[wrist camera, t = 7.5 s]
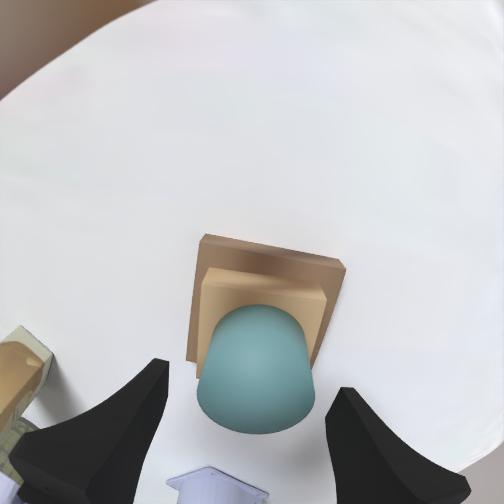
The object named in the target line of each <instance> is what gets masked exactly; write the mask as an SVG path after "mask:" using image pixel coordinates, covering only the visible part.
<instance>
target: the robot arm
mask: <svg viewBox="0 0 504 504" xmlns="http://www.w3.org/2000/svg"><path fill="white" fill-rule="evenodd" d="M168 385H169V361H165V360H161V359H157V358H154V359H153V360H152V361H151V362H150V363H149V364H148V365H147V366H146V367H145V368H144V369H143V370H142V371H141V372H140V373H138V374H137V375H136V376H135V377H134V378H133V379H132V380H131V381H129V382H128V383H127V384H126V385H125V386H124V387H122V388H121V389H120V390H119V391H117V392H116V393H115V394H113V395H112V396H111V397H109V398H108V399H106V400H105V401H103V402H102V403H100V404H99V405H97V406H95V407H94V408H92V409H90V410H88V411H86V412H84V413H82V414H80V415H79V416H76V417H74V418H72V419H70V420H67V421H64V422H62V423H59V424H56V425H54V426H51V427H47V428H43V429H39V430H35V431H31V432H26V433H24V434H23V435H22V437H21V438H20V439H19V440H18V442H17V443H16V445H15V446H14V448H13V449H12V451H11V452H10V454H9V455H8V458H9V462H10V463H11V465H12V466H13V468H14V469H15V470H16V472H17V473H18V474H19V475H20V477H21V478H22V479H23V480H24V482H23V484H22V485H21V486H20V485H19V484H18V483H17V482H16V481H14V480H13V479H11V478H10V477H8V476H7V475H5V474H4V473H3V472H1V471H0V504H133V502H134V497H135V493H136V489H137V485H138V481H139V477H140V473H141V470H142V466H143V462H144V460H145V457H146V454H147V452H148V449H149V447H150V444H151V442H152V440H153V437H154V435H155V432H156V430H157V428H158V425H159V423H160V420H161V418H162V416H163V412H164V409H165V405H166V402H167V398H168ZM325 424H326V438H327V443H328V448H329V452H330V457H331V462H332V466H333V471H334V476H335V482H336V494H337V504H460V503H461V502H463V501H464V500H465V499H466V498H467V497H468V496H469V495H470V493H471V488H470V486H469V484H468V482H467V480H466V478H465V476H462V475H459V474H457V473H454V472H452V471H449V470H447V469H445V468H443V467H441V466H439V465H437V464H435V463H433V462H432V461H430V460H428V459H427V458H425V457H424V456H422V455H421V454H419V453H418V452H416V451H415V450H414V449H412V448H411V447H410V446H408V445H407V444H406V443H405V442H404V441H402V440H401V439H400V438H399V437H398V436H397V435H396V434H395V433H394V432H393V431H392V430H391V429H390V428H389V427H388V426H387V425H386V424H385V423H384V422H383V421H382V420H381V419H380V418H379V417H378V416H377V414H376V413H375V412H374V411H373V410H372V409H371V407H370V406H369V405H368V404H367V403H366V402H365V400H364V399H363V398H362V397H361V396H360V394H359V393H358V392H357V391H356V390H355V389H354V388H349V387H341V388H340V390H339V392H338V394H337V396H336V398H335V400H334V402H333V404H332V406H331V407H330V409H329V411H328V413H327V415H326V417H325ZM166 484H167V485H169V486H170V487H172V488H174V489H176V490H178V491H179V496H178V500H177V504H263V499H265V498H268V494H267V493H265V492H262V491H260V490H258V489H255V488H253V487H251V486H249V485H246V484H244V483H242V482H240V481H238V480H236V479H233V478H231V477H229V476H227V475H225V474H223V473H221V472H219V471H217V470H215V469H214V468H211V467H207V468H204V469H202V470H199V471H196V472H193V473H190V474H187V475H183V476H180V477H177V478H174V479H170V480H167V481H166Z"/></svg>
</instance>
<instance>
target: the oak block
mask: <svg viewBox="0 0 504 504" xmlns="http://www.w3.org/2000/svg"><path fill="white" fill-rule="evenodd" d="M326 302H327V299H326V297H325V294H324V292H323V290H322V287H321V285H320V283H319V282H315V281H307V280H299V279H291V278H284V277H276V276H268V275H261V274H253V273H246V272H239V271H232V270H224V269H217V268H210V267H209V269H208V271H207V273H206V275H205V277H204V280H203V282H202V285H201V298H200V313H199V330H198V349H197V371H196V378H198V379H200V376H201V373H202V369H203V366H204V362H205V359H206V355H207V352H208V348H209V345H210V341H211V337H212V334H213V331H214V328H215V326H216V325H217V323H218V322H219V320H220V319H221V318H222V317H223V316H225V315H226V314H227V313H229V312H230V311H232V310H234V309H236V308H239V307H242V306H247V305H254V304H262V305H270V306H274V307H277V308H279V309H282V310H284V311H286V312H288V313H289V314H290V315H292V316H293V317H294V318H295V319H296V320H297V321H298V322H299V324H300V325H301V327H302V329H303V331H304V334H305V339H306V344H307V350H308V356H309V361H310V359H311V356H312V352H313V349H314V345H315V342H316V339H317V335H318V332H319V328H320V324H321V321H322V317H323V313H324V310H325V306H326Z"/></svg>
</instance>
